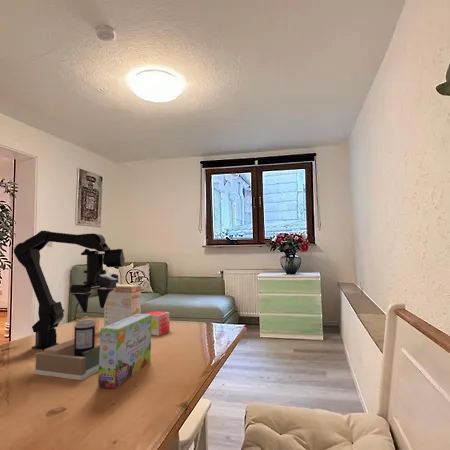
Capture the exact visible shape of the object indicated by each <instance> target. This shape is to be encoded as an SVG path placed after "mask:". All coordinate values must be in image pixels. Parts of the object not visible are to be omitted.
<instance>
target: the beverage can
mask: <svg viewBox="0 0 450 450" xmlns="http://www.w3.org/2000/svg"><path fill="white" fill-rule="evenodd" d="M95 330H96V324H95V323H94V320H91V319H88V320H87V319H84V320H80V321H79V320H78V321H76V323H75V326H74V336H73V337H74V338H73V339H74V356H80V357H82V353H83V352H85V351H87V350H90V349H92V348H95V347H96V346H95V343H96V341H95V336H96V335H95V334H96V333H95V332H96V331H95Z"/></svg>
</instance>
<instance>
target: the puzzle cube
mask: <svg viewBox="0 0 450 450" xmlns="http://www.w3.org/2000/svg"><path fill="white" fill-rule="evenodd" d="M146 314H152V322H151V335H154V336H155V335H156V336H161V335H163V334H165V333H168V332H170V324H171V323H170V314H171V313H170V312H169V311H156V310H155V311H150V312H148V313H146Z"/></svg>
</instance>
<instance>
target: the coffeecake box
mask: <svg viewBox="0 0 450 450" xmlns="http://www.w3.org/2000/svg"><path fill="white" fill-rule="evenodd" d="M111 289H114V290H112V291H111V292H110V293H109V294H108V297H107V300H106V302H105V305H104V313H103V315H104V317H103V321H104V322H103V327H105V326H108V325H110V324H113V323H115V322H118V321H120V320H123V319H125V318H128V317H130V316H133V315H135V314H142V313H141V311H142V310H141V308H142V304H141V303H142V302H141V301H142V294H141V293H142V286H141V284H126V283H125V284H124V283H122V284H121V283H116V288H111Z"/></svg>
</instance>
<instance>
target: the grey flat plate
mask: <svg viewBox="0 0 450 450" xmlns="http://www.w3.org/2000/svg"><path fill="white" fill-rule="evenodd" d="M99 356H100V344H99V345H97V346H95V348H92V349H90V350H87V351H85V352H83V353H82V357H86V370H88V369H90V368H92V367H94V366H96V365H98V364H99Z"/></svg>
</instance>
